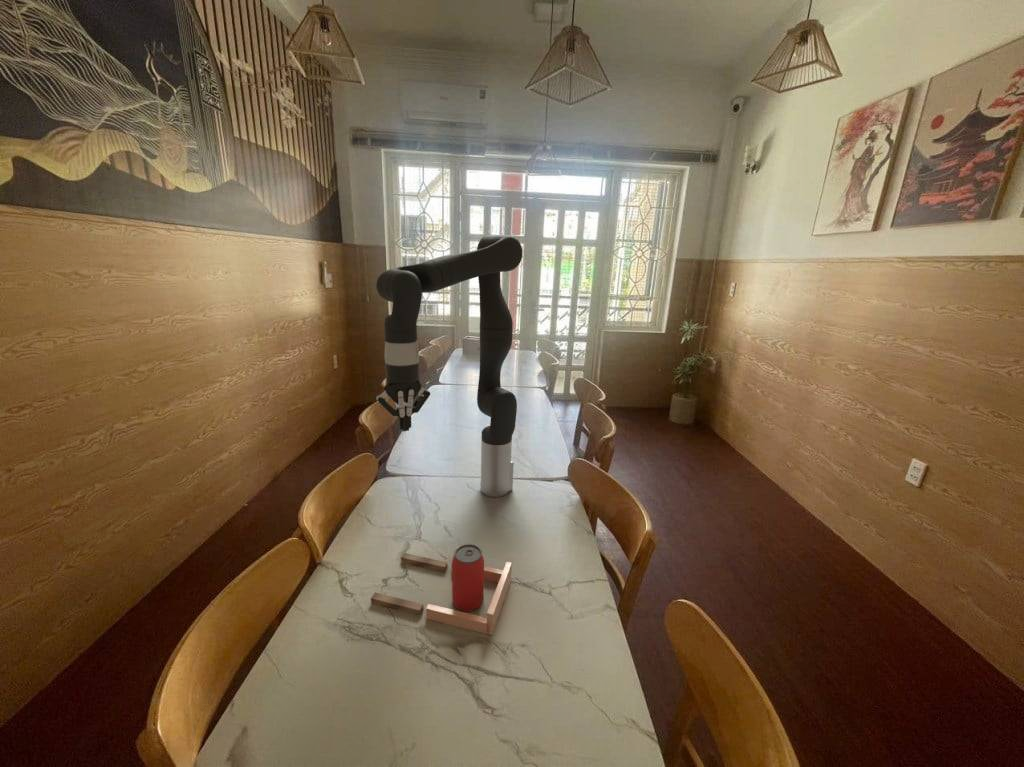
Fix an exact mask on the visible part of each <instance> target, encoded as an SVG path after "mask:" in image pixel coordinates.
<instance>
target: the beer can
mask: <svg viewBox="0 0 1024 767" xmlns="http://www.w3.org/2000/svg"><path fill="white" fill-rule="evenodd" d="M451 563H452V570H451V597H452V598H451V600H452V604H453V605H454V606H455V607H456V609H458V610H459V611H461V612H471V611H474V610H476V609H477V608H478V609H479V607H480V606H481V605H482V603H483V601H484V590H485V589H484V588H485V586H484V585H485V582H484V566H485V557H484V556H483V550H482V549H481V548H480V547H479V546H478V545H475V544H471V543H468V544H461V545H460V546H458V548H456V549H455V551H454V555H453V558H452V561H451Z"/></svg>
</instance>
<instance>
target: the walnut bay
mask: <svg viewBox="0 0 1024 767" xmlns="http://www.w3.org/2000/svg"><path fill="white" fill-rule="evenodd" d="M400 561H401V564H406V565H409V566H413V567H414V566H415V567H417V568H418V567H419V568H423V569H428V570H431V571H437V572H440V573H446V571H447V570H448V567H449V566H448V565H449V564H448V562H447V561H443V560H439V559H434V558H430V557H425V556H421V555H417V554H411V553H407V552H403V554H402V556H401V557H400ZM370 604H371V605H373V606H378V607H381V608H386V609H389V610H393V611H398V612H402V613H405V614H410V615H413V616H418V617H421V616H422V614H423V612H424V604H423V603H420V602H417V601H416V602H415V601H411V600H408V599H403V598H400V597H396V596H391V595H388V594H383V593H379V592H374V593H373V594H372V596H371V597H370Z"/></svg>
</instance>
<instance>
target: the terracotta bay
mask: <svg viewBox="0 0 1024 767" xmlns="http://www.w3.org/2000/svg"><path fill="white" fill-rule="evenodd" d="M512 566H513V563H512V562H508V561H506V562H505V564H504V568H503V569H499V568H494V567H489V566H485V565H484V580H485V581H489V582H494V583H497V586H496V588H495V591H494V593H493V597H492V598H491V601H490V604H489V607H488V610H487V613H486V617H484V616H480V615H476V614H472V613H467V612H465V611H461V610H455V609H452V608H447V607H443V606H438V605H436V604H432V603H431V604H430V603H428V604H427V606H426V608H425V618H426V619H427V620H431V621H433V622H434V621H435V622H438V623H442V624H443V623H444V624H447V625H450V626H451V625H452V626H454V627H459V628H463V629H466V630H470V631H474V632H478V633H481V634H482V633H483V634H484V635H485V634H486V635H490V636H493V634H494V632H495V628H496V626H497V623H498V621H499V620H498V619H499V617H500V613H501V611H502V609H503V608H502V607H503V605H504V602H505V600H506V596H507V594H508V591H509V588H510V584H511V582H512ZM450 569H451V571H452V562H451V568H450Z"/></svg>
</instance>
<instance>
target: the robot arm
mask: <svg viewBox="0 0 1024 767" xmlns="http://www.w3.org/2000/svg"><path fill="white" fill-rule="evenodd" d="M522 258H523V248H522V245H521V242H520V241H519V240H518V239H517V238H516V237H515V236H512V235H509V234H508V235H507V234H489V235H488V234H487V235H484V236H482V238H481V239H479V241H478V245H477V248H476V250H471V251H466V252H465V251H464V252H459V253H458V252H457V253H453V254H446V255H442V256H438V257H435V258H432V259H428V260H425V261H423V262H419V263H415V264H409V265H404V266H399V267H393V268H390V269H389V268H388V269H387V270H385V271H383V272H382V273H381V274H380V275H379V276H378V277H377V280H376V285H375V286H376V292H377V293H378V295H379V297H380V298H382V299H384V300H385V301H387V302H391V303H392V308H391V309H392V310H391V314H388V315H386V316H385V318H384V322H383V323H384V324H383V325H384V357H383V359H384V362H385V363H384V365H385V367H384V368H385V383H386V384H385V385H384V387H383V388H384V391H383V392H381V394H376V395H375V399H376V400H377V402H378V403H379V404H380V405H381V406H382V407H383V408H385V410H386V411H387V412H388V413H389V414H390V415H391V416H393V417H397V427H398V428H399V430H401V431H402V432H407V431H408V432H409V431H410V429H411V428H412V415H414V414H417V413H419V412H420V410H421V409H422V407H423V406H424V404H425V403H426V402H427V400H428V399H429V397H430V396H431V392H430V391H429V389H427V388H424V387H422V382H421V381H420V357H419V356H420V353H419V352H420V351H419V344H418V328H417V321H418V319H419V314H420V308H421V304H422V299H423V298H422V297H423V293H434V292H438V291H440V290H444V289H446V288H448V287H452V286H454V285H457V284H460V283H462V282H466V281H468V280H469V281H470V280H471V279H475V278H478V279H477V280H478V288H479V376H478V385H477V396H476V404H477V407H478V409H479V411H480V412H481V413H483V414H484V415H485V416H487V417H489V418H490V421H489V422H490V423H489V425H488V426H485V427H483V429H482V430H481V441H480V442H481V443H480V444H481V446H480V447H481V448H480V450H481V452H480V491H481V493H482V494H484V495H485V496H488V497H493V498H494V497H495V498H496V497H497V498H498V497H503V496H506V495H508V494H509V492H511V491H513V489H514V488H513V487H514V485H513V483H514V464H515V463H514V461H512V446H513V434H514V432H515V430H516V422H517V411H518V401H517V398H516V396H515V393H513V392H512V391H510V390H507V389H504V388H503V387H502V386H501V373H502V372H501V371H502V367H503V365H504V362H505V360H506V358H507V356H508V355H509V353H510V350H511V348H512V344H513V330H514V329H513V327H514V326H513V325H514V324H513V317H512V314H511V311H510V309H509V306H508V304H507V303H506V300H505V297H504V295H503V292H502V286H501V273H502V272H503V273H506V272H510V271H514V270H515V269H516V268H518V267H519V265H520V264H521V261H522ZM388 397H389V398H390V399H391V400H392V401H393V402H394V405H395V407H396V408H394V407H393V406H392V405H391V404H390V403H389V402H388V401H389V398H388ZM414 400H415V401H414Z"/></svg>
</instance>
